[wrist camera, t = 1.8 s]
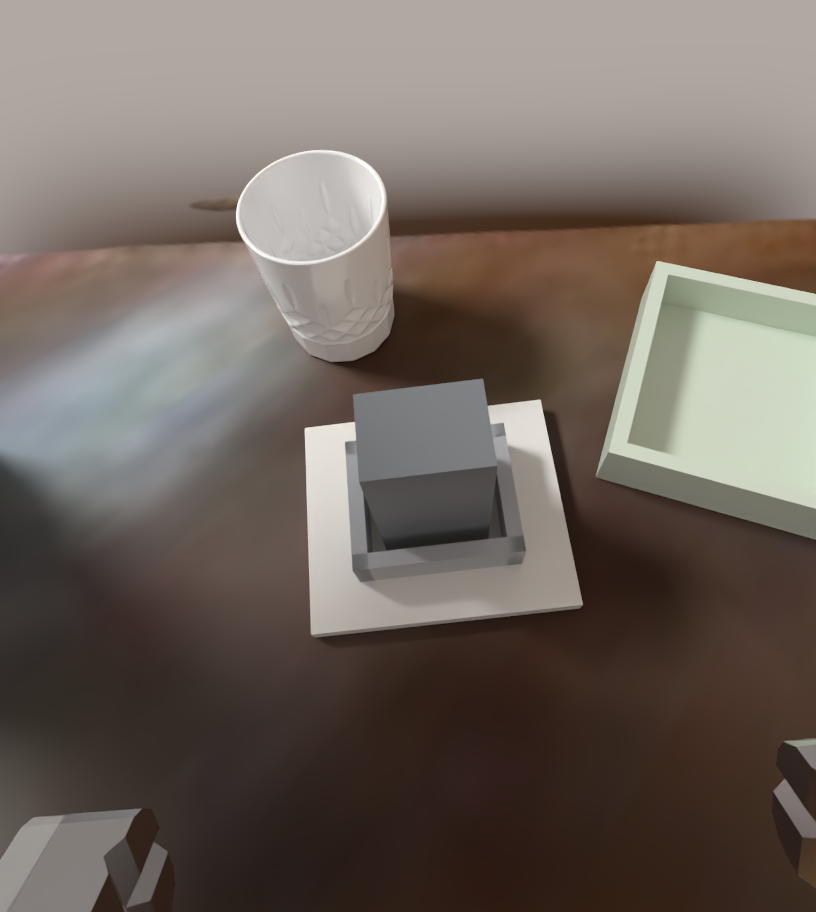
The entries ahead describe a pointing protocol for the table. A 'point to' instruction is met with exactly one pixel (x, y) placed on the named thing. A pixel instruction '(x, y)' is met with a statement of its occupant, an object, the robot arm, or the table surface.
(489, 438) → the gray rectangular block
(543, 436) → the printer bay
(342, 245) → the white cup
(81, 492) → the table surface
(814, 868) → the robot arm
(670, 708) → the table surface
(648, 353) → the sage tray
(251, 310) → the table surface
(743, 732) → the table surface
